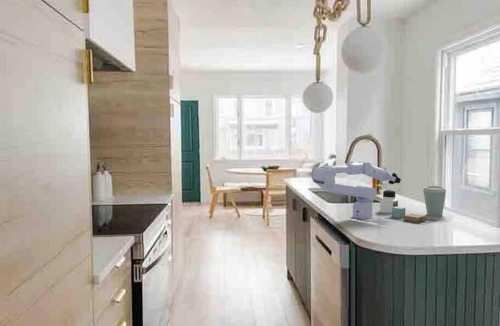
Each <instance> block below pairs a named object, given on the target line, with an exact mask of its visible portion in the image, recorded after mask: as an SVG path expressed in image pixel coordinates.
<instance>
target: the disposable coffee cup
mask: <svg viewBox="0 0 500 326" xmlns="http://www.w3.org/2000/svg"><path fill="white" fill-rule="evenodd" d="M422 192H423V195H424V197H423V198H424V202H425V209H426V214H427V216H433V217H442V216H443V212H444V206H445V200H446V195H447V194H446V193H447V188H446V187H444V186H441V185H427V186H424V187H423V190H422Z"/></svg>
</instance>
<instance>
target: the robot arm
mask: <svg viewBox="0 0 500 326" xmlns="http://www.w3.org/2000/svg"><path fill="white" fill-rule="evenodd" d="M387 169H388V168H387V167H386V166H383V167H382V168H381V167H378V166H376V165H373V164H371V162H365V161H364V162H363V161H360V160H359V161H357V162H355V161H351V160H350V161H349V162H347V163H345V165H324V166H323V165H321V166H319V167H318V166H316V167H314V168H313V169H311V172H310V177H311V179H312V182H313V183H315V184H316V185H317V186H319V188H320V189H322V190H323V191H324V192H326V193H329V194H338V195H342V196H343V195H345V196H350V197H351V196H352V197H355V199H356V201H354V203H353V205H352V219H354V220H355V219H357V220H359V221H360V220H362V221H366V220H365V219H370V218H373V201H374V200H375V199H376V197H377V190H376V188H374V187H369V186H364V185H363V186H362V185H356V186H351V185H345V184H339V183H336V176H337V174H341V173H343V174H344V173H345V174H346V175H348V176H352V175H353V176H354V175H365V176H366V177H369V178H373V179H375V180H378V181H380V182H384V181H385V182H387V181H388V184H389V185H394V184H400V183H401V181H402V179H401V178H400V177H399V176H398V174H396V173H395V172H392V174H391V173H390V172H389V171H388V170H387Z"/></svg>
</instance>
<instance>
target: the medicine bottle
mask: <svg viewBox="0 0 500 326" xmlns="http://www.w3.org/2000/svg"><path fill="white" fill-rule="evenodd" d="M392 207H399V200H398V199H397V198H396V191H395V190H392V189H390V190H389V189H388V190H386V189H385V190H384V191H383V192H382V199H380V200H379V212H380V213H387V214H392Z"/></svg>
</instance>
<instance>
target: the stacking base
mask: <svg viewBox="0 0 500 326" xmlns="http://www.w3.org/2000/svg"><path fill="white" fill-rule="evenodd" d="M385 219H387V220H392V221H398V222H399V221H400V222H405V223H409V224H416V225H421V226H425V225H429V224H432V223H433V224H434V223H435V222H438V220H437V219H430V218H427V216H426V215H424V214H418V213H417V214H416V213H409V214H405V215H404V217H403V218H397V217H392V215H391V216H390V215H389V216H386V217H385Z"/></svg>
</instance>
